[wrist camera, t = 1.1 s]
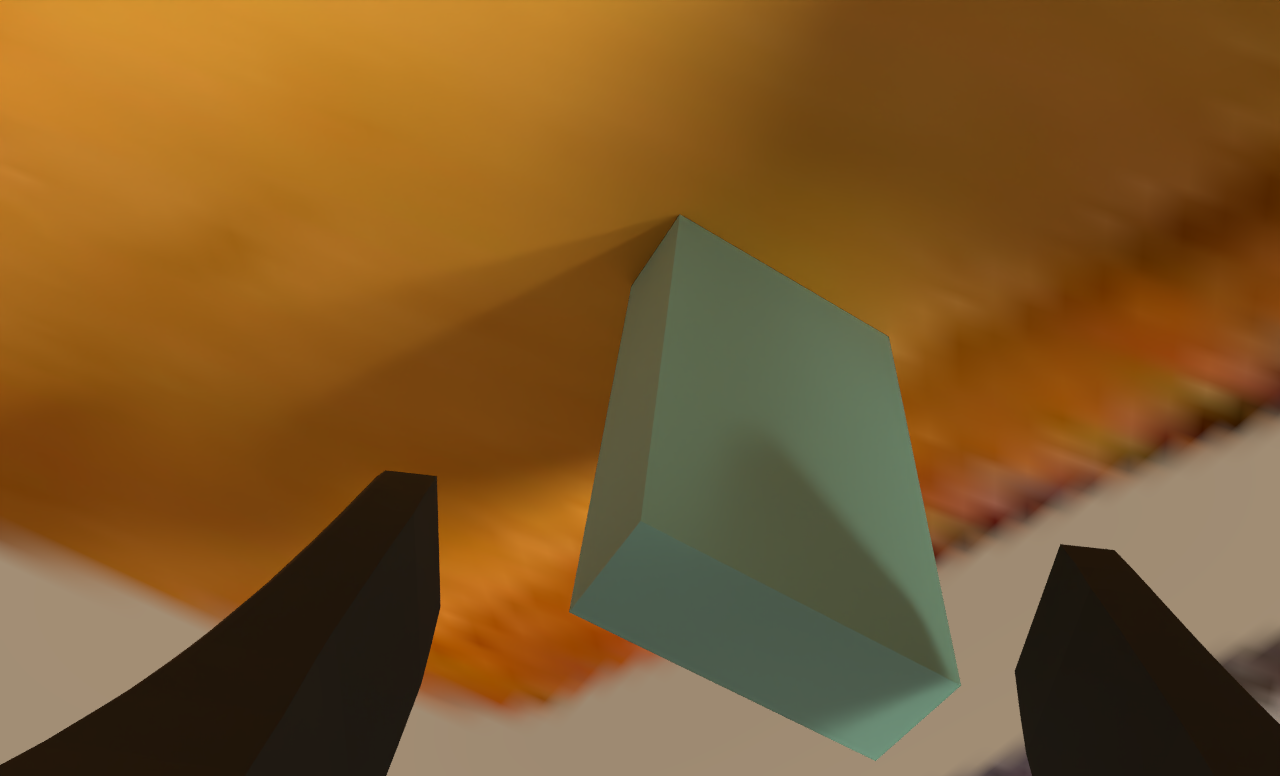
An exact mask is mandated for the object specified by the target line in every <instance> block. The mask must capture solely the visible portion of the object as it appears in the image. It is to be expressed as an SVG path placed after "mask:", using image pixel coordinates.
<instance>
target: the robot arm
mask: <svg viewBox="0 0 1280 776" xmlns="http://www.w3.org/2000/svg"><path fill="white" fill-rule="evenodd" d="M439 610H440V573H439V537H438V502H437V476H431V475H422V474H412V473H403V472H394V471H384V472H383V473H381V474H380V475H379V476H377V477H376V478H375V479H374V480H373V481H372V482H371V483H370V484H369V485H368V486H367V487H366V488H365V489H364V490H363V491H362V492H361V493H360V494H359V495H358V496H357V497H356V498H355V499H354V500H353V501H352V502H351V503H350V504H349V505H348V507H347V508H346V509H345V510H344V511H343V512H342V513H341V514H340V515H339V516H338V517H337V518H336V519H335V520H334V521H333V522H332V523H331V524H330V525H328V526H327V527H326V528H325V529H324V530H323V531H322V532H321V533H320V534H319V535H318V536H317V537H316V538H315V539H314V540H313V541H312V542H311V543H310V544H309V545H308V546H307V547H306V548H305V549H304V550H302V551H301V552H300V553H299V554H298V555H297V556H296V557H295V558H294V559H293V560H292V561H291V562H290V563H288V564H287V565H286V566H285V567H284V568H283V569H282V570H281V571H280V572H279V573H278V574H277V575H275V576H274V577H273V578H272V579H271V580H270V581H269V582H268V583H267V584H265V585H264V586H263V587H262V588H261V589H260V590H259V591H257V592H256V593H255V594H254V595H253V596H251V597H250V598H249V599H248V600H247V601H245V602H244V603H243V604H242V605H241V606H239V607H238V608H237V609H236V610H235V611H233V612H232V613H231V614H230V615H229V616H227V617H226V618H225V619H224V620H223V621H221V622H220V623H219V624H218V625H217V626H215V627H214V628H213V629H212V630H210V631H209V632H208V633H207V634H205V635H204V636H203V637H202V638H201V639H199V640H198V641H197V642H195V643H194V644H192V645H191V646H190V647H189V648H187V649H186V650H185V651H183V652H182V653H181V654H179V655H178V656H176V657H175V658H174V659H172V660H171V661H170V662H168V663H167V664H165V665H164V666H162V667H161V668H160V669H158V670H157V671H155V672H154V673H152V674H151V675H150V676H148V677H147V678H146V679H144V680H143V681H141V682H140V683H138V684H137V685H135V686H134V687H132V688H131V689H130V690H128V691H126V692H125V693H123V694H121V695H120V696H118V697H117V698H115V699H114V700H112V701H110V702H109V703H107V704H105V705H104V706H102V707H101V708H99V709H97V710H96V711H94V712H92V713H91V714H89V715H87V716H86V717H84V718H83V719H81V720H79V721H77V722H76V723H74V724H72V725H71V726H69V727H67V728H66V729H64V730H63V731H61V732H59V733H57V734H56V735H54V736H52V737H51V738H49V739H48V740H46V741H44V742H42V743H40V744H38V745H37V746H35V747H33V748H31V749H29V750H27V751H26V752H24V753H22V754H20V755H18V756H16V757H14V758H12V759H11V760H9V761H7V762H5V763H3V764H1V765H0V776H386V775H387V772H388V769H389V767H390V765H391V762H392V759H393V757H394V754H395V752H396V749H397V746H398V744H399V741H400V739H401V736H402V733H403V731H404V728H405V726H406V723H407V720H408V717H409V715H410V712H411V710H412V707H413V705H414V702H415V699H416V696H417V694H418V691H419V688H420V686H421V683H422V679H423V675H424V671H425V667H426V663H427V659H428V656H429V652H430V648H431V644H432V639H433V635H434V631H435V627H436V623H437V619H438V615H439ZM1015 676H1016V684H1017V693H1018V700H1019V707H1020V716H1021V722H1022V729H1023V736H1024V742H1025V748H1026V754H1027V758H1028V762H1029V766H1030V769H1031V773H1032V776H1280V724H1279V723H1278V722H1277V721H1276V720H1275V719H1274V718H1273V717H1272V716H1271V715H1270V714H1269V713H1268V712H1267V711H1266V710H1265V709H1264V708H1263V707H1262V706H1261V705H1260V704H1259V703H1258V702H1257V701H1256V700H1255V699H1254V698H1253V697H1252V696H1251V695H1250V694H1249V693H1248V692H1247V691H1246V690H1245V689H1244V688H1243V687H1242V686H1241V685H1240V684H1239V683H1238V682H1237V681H1236V680H1235V679H1234V678H1233V677H1232V676H1231V675H1230V674H1229V673H1228V672H1227V671H1226V670H1225V668H1224V667H1223V666H1222V665H1221V664H1220V663H1219V662H1218V661H1217V660H1216V659H1215V658H1214V657H1213V656H1212V655H1211V654H1210V653H1209V652H1208V651H1207V650H1206V648H1205V647H1204V646H1203V645H1202V644H1201V643H1200V642H1199V641H1198V640H1197V639H1196V638H1195V637H1194V636H1193V634H1192V633H1191V632H1190V631H1189V630H1188V629H1187V628H1186V627H1185V626H1184V625H1183V624H1182V622H1180V620H1179V619H1178V618H1177V617H1176V616H1175V615H1174V614H1173V613H1172V612H1171V611H1170V609H1169V608H1168V607H1167V606H1166V605H1165V604H1164V603H1163V602H1162V601H1161V599H1160V598H1159V597H1158V596H1157V595H1156V594H1155V593H1154V592H1153V591H1152V590H1151V588H1150V587H1149V586H1148V585H1147V584H1146V583H1145V582H1144V581H1143V580H1142V579H1141V578H1140V577H1139V575H1138V574H1137V573H1136V572H1135V571H1134V570H1133V569H1132V568H1131V567H1130V566H1129V565H1128V564H1127V563H1126V562H1125V561H1124V560H1123V559H1122V558H1121V556H1120V555H1118V553H1117V552H1116V551H1115V550H1108V549H1098V548H1089V547H1080V546H1071V545H1062V544H1060V547H1059V550H1058V553H1057V555H1056V558H1055V561H1054V564H1053V566H1052V569H1051V572H1050V575H1049V577H1048V580H1047V583H1046V586H1045V589H1044V592H1043V594H1042V597H1041V600H1040V603H1039V605H1038V608H1037V611H1036V614H1035V616H1034V619H1033V622H1032V625H1031V627H1030V630H1029V633H1028V636H1027V639H1026V641H1025V644H1024V647H1023V650H1022V652H1021V655H1020V658H1019V661H1018V664H1017V666H1016V669H1015Z"/></svg>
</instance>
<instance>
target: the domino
mask: <svg viewBox="0 0 1280 776" xmlns="http://www.w3.org/2000/svg"><path fill="white" fill-rule="evenodd" d="M569 612H570V613H572V614H574V615H576V616H578V617H581V618H583V619H585V620H587V621H589V622H591V623H593V624H595V625H597V626H599V627H601V628H603V629H605V630H607V631H609V632H611V633H613V634H615V635H618V636H620V637H622V638H624V639H626V640H628V641H630V642H632V643H634V644H636V645H638V646H640V647H642V648H644V649H646V650H648V651H650V652H652V653H655V654H657V655H659V656H661V657H663V658H665V659H667V660H669V661H671V662H673V663H675V664H677V665H679V666H681V667H683V668H685V669H687V670H690V671H692V672H694V673H696V674H698V675H700V676H702V677H704V678H706V679H708V680H710V681H712V682H714V683H716V684H718V685H720V686H722V687H725V688H727V689H729V690H731V691H733V692H735V693H737V694H739V695H741V696H743V697H745V698H747V699H749V700H752V701H753V702H755V703H757V704H759V705H762V706H764V707H766V708H768V709H770V710H772V711H774V712H776V713H778V714H780V715H782V716H784V717H786V718H788V719H790V720H792V721H795V722H796V723H799V724H801V725H803V726H805V727H807V728H809V729H811V730H813V731H815V732H817V733H819V734H821V735H823V736H825V737H828V738H830V739H831V740H833V741H836V742H838V743H840V744H842V745H844V746H846V747H848V748H850V749H852V750H854V751H856V752H859V753H861V754H862V755H865V756H866V757H868V758H871V759H873V760H875V761H876V760H877V759H878V758H879V757H880V756H881V755H883V754H884V753H885V752H886V751H887V750H888V749H890V748H891V747H892V746H893V745H894V744H895V743H896V742H898V741H899V740H900V739H901V738H902V737H903V736H904V735H905V734H907V733H908V732H909V731H910V730H911V729H912V728H913V727H914V726H916V725H917V724H918V723H919V722H920V721H921V720H922V719H924V718H925V717H926V716H927V715H928V714H929V713H930V712H931V711H933V710H934V709H935V708H936V707H937V706H938V705H939V704H941V703H942V702H943V701H944V700H945V699H946V698H947V697H948V696H950V695H951V694H952V693H953V692H954V691H955V690H956V689H957V688H959V687H960V686H961V683H960V679H959V674H958V669H957V664H956V659H955V655H954V649H953V645H952V640H951V635H950V630H949V626H948V620H947V616H946V611H945V606H944V601H943V597H942V591H941V587H940V582H939V577H938V572H937V567H936V562H935V558H934V553H933V548H932V543H931V538H930V533H929V529H928V524H927V519H926V514H925V509H924V505H923V500H922V495H921V490H920V485H919V480H918V476H917V471H916V466H915V461H914V456H913V451H912V447H911V442H910V437H909V432H908V427H907V422H906V418H905V413H904V408H903V403H902V398H901V393H900V389H899V384H898V379H897V374H896V369H895V364H894V360H893V355H892V350H891V345H890V340H889V337H888V336H886V335H885V334H883V333H881V332H880V331H878V330H876V329H875V328H873V327H871V326H869V325H868V324H866V323H864V322H863V321H861V320H859V319H858V318H856V317H854V316H852V315H851V314H849V313H847V312H846V311H844V310H842V309H840V308H839V307H837V306H835V305H834V304H832V303H830V302H829V301H827V300H825V299H823V298H822V297H820V296H818V295H817V294H815V293H813V292H811V291H810V290H808V289H806V288H805V287H803V286H801V285H800V284H798V283H796V282H794V281H793V280H791V279H789V278H788V277H786V276H784V275H783V274H781V273H779V272H777V271H776V270H774V269H772V268H771V267H769V266H767V265H765V264H764V263H762V262H760V261H759V260H757V259H755V258H754V257H752V256H750V255H748V254H747V253H745V252H743V251H742V250H740V249H738V248H737V247H735V246H733V245H731V244H730V243H728V242H726V241H725V240H723V239H721V238H719V237H718V236H716V235H714V234H713V233H711V232H709V231H708V230H706V229H704V228H702V227H701V226H699V225H697V224H696V223H694V222H692V221H690V220H689V219H687V218H685V217H684V216H682V215H679V216H678V218H677V219H676V221H675V222H674V224H673V225H672V227H671V228H670V230H669V231H668V233H667V234H666V236H665V237H664V239H663V240H662V242H661V243H660V245H659V246H658V248H657V249H656V251H655V252H654V254H653V255H652V257H651V258H650V260H649V261H648V262H647V264H646V265H645V267H644V268H643V270H642V271H641V273H640V274H639V276H638V277H637V279H636V280H635V282H634V283H633V285H632V286H631V291H630V296H629V301H628V307H627V312H626V317H625V322H624V328H623V333H622V338H621V343H620V348H619V354H618V359H617V364H616V369H615V375H614V380H613V385H612V390H611V396H610V401H609V406H608V411H607V416H606V422H605V427H604V432H603V437H602V443H601V448H600V453H599V458H598V464H597V469H596V474H595V479H594V484H593V490H592V495H591V500H590V505H589V511H588V516H587V521H586V526H585V532H584V537H583V542H582V547H581V552H580V558H579V563H578V568H577V573H576V579H575V584H574V589H573V594H572V600H571V605H570V610H569Z"/></svg>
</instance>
